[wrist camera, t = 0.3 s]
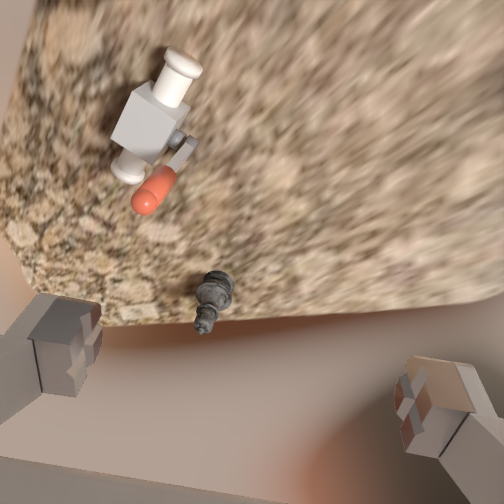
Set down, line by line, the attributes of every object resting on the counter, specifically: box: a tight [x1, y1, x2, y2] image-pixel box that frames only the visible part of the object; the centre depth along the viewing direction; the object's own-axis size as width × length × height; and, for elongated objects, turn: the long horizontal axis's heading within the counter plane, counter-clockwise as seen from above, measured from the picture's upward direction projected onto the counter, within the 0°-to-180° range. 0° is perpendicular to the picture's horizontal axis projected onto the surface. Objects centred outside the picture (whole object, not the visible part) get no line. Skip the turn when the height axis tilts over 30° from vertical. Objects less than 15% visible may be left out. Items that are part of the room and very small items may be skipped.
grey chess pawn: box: [194, 271, 234, 335], centre depth 67 cm, size 6×6×12 cm
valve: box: [110, 47, 203, 185], centre depth 55 cm, size 18×7×6 cm, turn 147°
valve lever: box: [131, 135, 199, 215], centre depth 50 cm, size 3×3×18 cm
